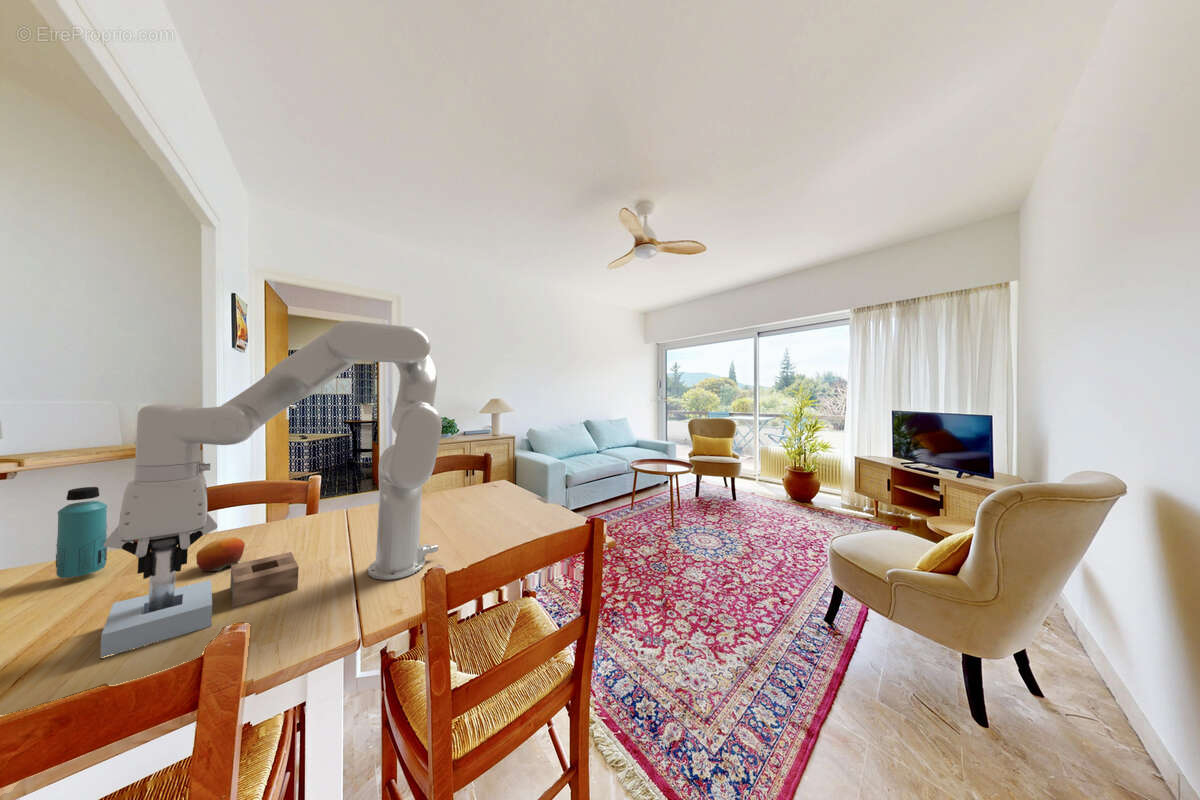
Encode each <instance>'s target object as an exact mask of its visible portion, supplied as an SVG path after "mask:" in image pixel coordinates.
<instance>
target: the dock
mask: <svg viewBox="0 0 1200 800" xmlns="http://www.w3.org/2000/svg"><path fill="white" fill-rule="evenodd" d="M212 594H213V591H212V580H211V579H209V580H204V581H201V582H195V583H192V584H191V583H190V584H188V585H184V586H178V587H175V595H174V606H173V607H169V608H165V609H162V610H158V611H154V612H150V613H148V603H149V594H145V595H142V596H138V597H137V596H136V597H132V598H128V599H124V600H121V601H115V602H113V603H112V605H111V608H110V611H109V613H108V616H107V619H106V622H105V624H104V627H103V629H102V632H101V637H100V655H99V656H100V657H104V656H107V655H111V654H117V653H121V652H124V651H127V650H130V649H133V648H137V649H139V648H138V647H141V646H144V645H147V644H150V643H154V642H157V641H160V642H162V641H161V640H164V641H166V640H165V639H167V640H169V638H170V639H173V638H177V637H181V636H182V635H186V634H189V633H193V632H196V631H201V630H203V629H207V628H209V627H212V621H213V620H212V619H213V617H212V616H213V595H212ZM157 643H158V642H157ZM154 644H155V643H154ZM147 646H148V645H147ZM144 647H145V646H144ZM141 648H142V647H141ZM127 652H128V651H127ZM124 653H125V652H124ZM121 654H122V653H121ZM117 655H118V654H117ZM100 657H99V658H100Z"/></svg>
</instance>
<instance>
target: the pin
mask: <svg viewBox="0 0 1200 800" xmlns="http://www.w3.org/2000/svg"><path fill="white" fill-rule="evenodd" d="M179 544H180V539H179V534H174V535H167V536H161V537H155V538H150V539H149V544H148V550H151V571H150V577H149V586H148V595H149V603H148V613H150V612H154V611H158V610H162V609H165V608H169V607H173V606H174V595H175V588H176V576H177V575H176V573H177V571H176V572H175V561H176V550H177V547H178V545H179Z"/></svg>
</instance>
